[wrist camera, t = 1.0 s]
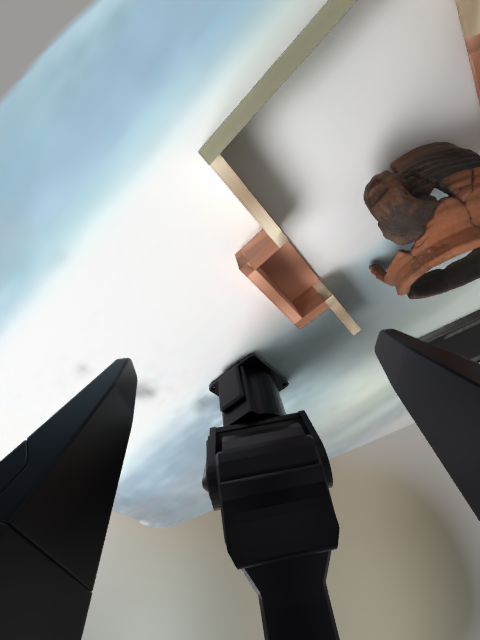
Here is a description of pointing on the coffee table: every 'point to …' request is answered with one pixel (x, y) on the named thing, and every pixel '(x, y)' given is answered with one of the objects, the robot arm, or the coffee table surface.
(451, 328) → the phone
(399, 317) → the coffee table surface
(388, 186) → the pottery mug
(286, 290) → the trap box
